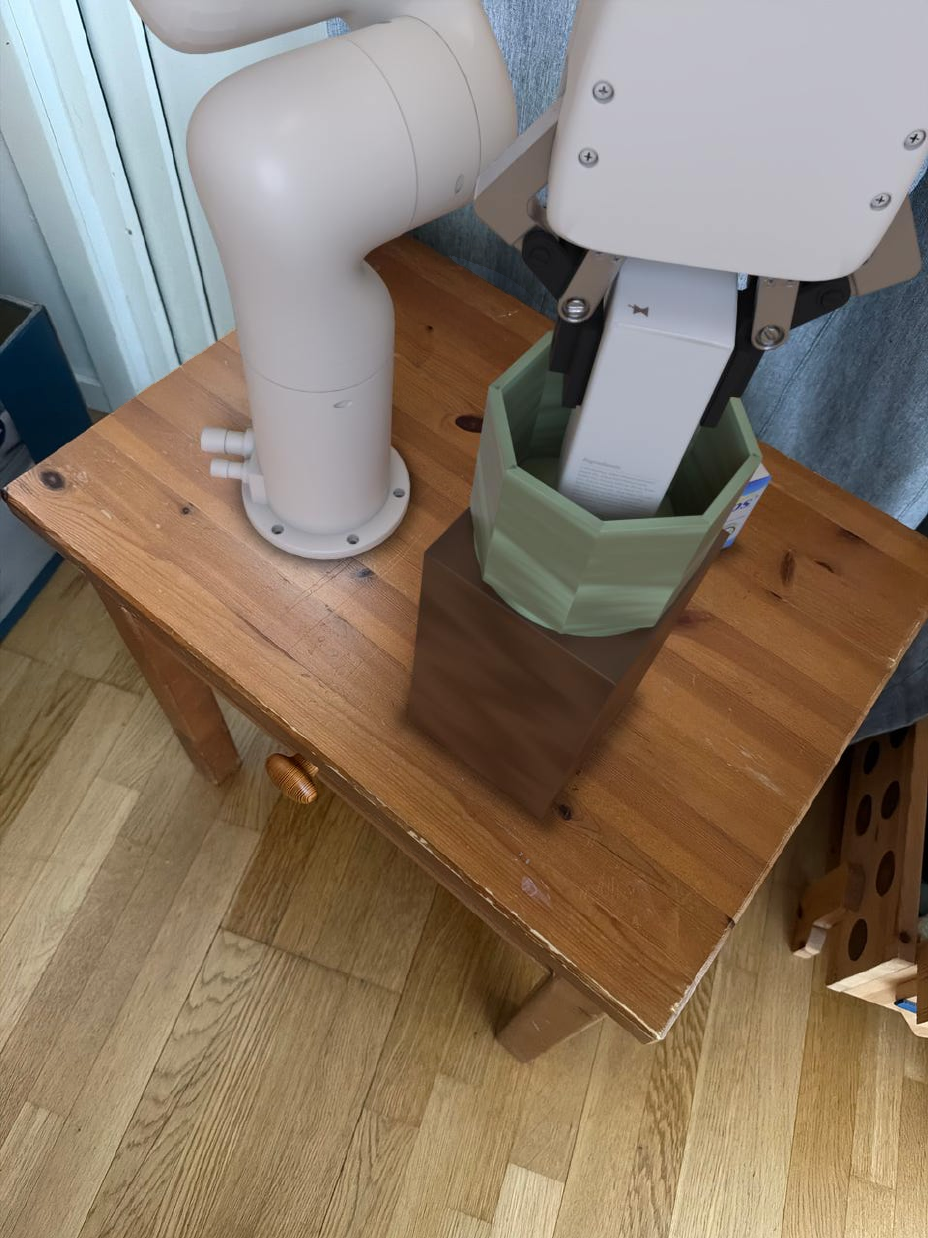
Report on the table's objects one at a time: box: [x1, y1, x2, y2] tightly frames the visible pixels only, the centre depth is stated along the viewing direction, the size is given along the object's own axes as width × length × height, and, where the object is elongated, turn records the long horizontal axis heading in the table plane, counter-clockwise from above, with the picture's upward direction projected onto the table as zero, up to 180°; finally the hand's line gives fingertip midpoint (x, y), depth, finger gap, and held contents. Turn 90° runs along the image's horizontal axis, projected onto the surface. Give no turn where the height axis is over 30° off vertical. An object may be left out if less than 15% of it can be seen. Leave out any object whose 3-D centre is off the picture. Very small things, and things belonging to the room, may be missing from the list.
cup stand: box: [407, 330, 763, 820], centre depth 49 cm, size 11×11×29 cm
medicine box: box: [722, 462, 772, 549], centre depth 66 cm, size 8×4×9 cm, turn 114°
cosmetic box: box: [553, 257, 739, 521], centre depth 35 cm, size 6×4×12 cm
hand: (638, 387), depth 35 cm, fingers closed on cosmetic box, 4 cm apart
